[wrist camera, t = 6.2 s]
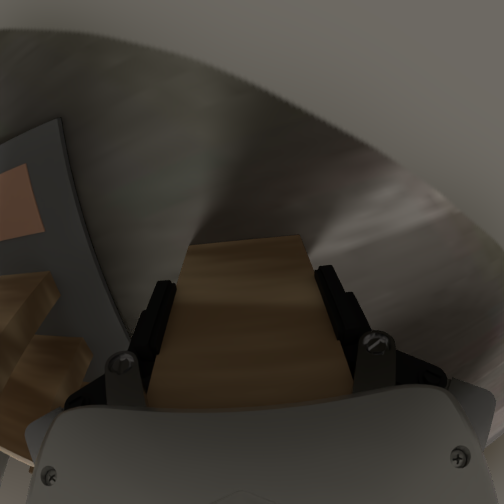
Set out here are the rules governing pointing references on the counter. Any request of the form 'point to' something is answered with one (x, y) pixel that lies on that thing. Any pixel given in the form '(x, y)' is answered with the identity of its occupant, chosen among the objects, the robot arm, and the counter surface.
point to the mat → (55, 242)
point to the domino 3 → (247, 330)
